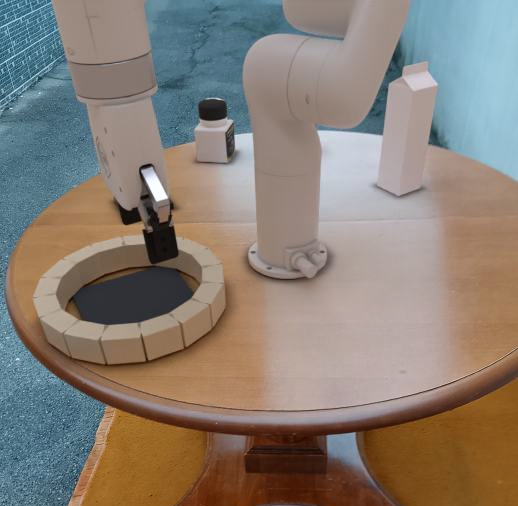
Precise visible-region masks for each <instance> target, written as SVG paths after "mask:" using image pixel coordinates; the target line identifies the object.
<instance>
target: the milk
mask: <svg viewBox="0 0 518 506" xmlns="http://www.w3.org/2000/svg"><path fill="white" fill-rule="evenodd" d="M428 70H429V61H423V62H418V63H414V64H409V65H405V66H403V68H402V72H401V73H402V74H401V76H400V77H398V78H396V79H395V80H393V81H391V82H389V83H388V88H387V97H386V105H385V115H384V123H383V131H382V132H383V133H382V140H381V141H382V142H381V149H380V157H379V165H378V166H379V167H378V174H377V184H376V185H377V187H379V188H380V189H382V190H385V191H387V192H389V193H390V194H393V195H395V196H397V197H400V196H403V195H405V194H408V193H409V194H410V193H411V192H414V191H417V190H420V189H421V187H422V182H423V176H424V170H425V165H426V160H427V159H426V158H427V153H428V147H429V141H430V135H431V129H432V122H433V118H434V111H435V105H436V101H437V93H438V87H439V83H438V82H437V81H436V80H435V78H434V77H433V76H432V75H431V73H430V71H428Z"/></svg>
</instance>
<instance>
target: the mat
mask: <svg viewBox="0 0 518 506" xmlns="http://www.w3.org/2000/svg"><path fill="white" fill-rule="evenodd" d="M194 294H195V292H194V291H193V289H192V288H190V286H189V285H188V283H187V282H186V280H185V279H184V278H183V277H182V276H181V274H180V272H178V269H175V268H168V267H161V266H152V267H148V268H146V269H141V270H140V271H136V272H133V273H128V274H124V275H122V276H118V277H115V278H111V279H108V280H105V281H101V282H97V283H94V284H90V285H86V286H82V287H81V288H80V289H79V290H78V291H77V292H76V293H75V294H74V295H73V296H72V299H73V301H74V303H75V306H76V308H77V311H78V312H79V314H80V316H81V319H82V321H86V322H92V323H97V324H103V325H117V324H130V323H140V322H143V321H146V320H149V319H152V318H156V317H159V316H162V315H165V314H168V313H170V312H171V311H173V310H174V309H176V308H178V307H179V306H181V305H182V304H184V303H185V302H187V301H188V300H190V299H191V298H192V297H193V295H194Z"/></svg>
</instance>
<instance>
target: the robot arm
mask: <svg viewBox="0 0 518 506" xmlns="http://www.w3.org/2000/svg"><path fill="white" fill-rule="evenodd" d="M50 1H51V5H52V10H53V13H54V17H55V21H56V24H57V29H58V32H59V36H60V39H61V43H62V47H63V50H64V55H65V58H66V62H67V66H68V69H69V70H68V71H69V74H70V77H71V81H72V84H73V88H74V92H75V96H76V99H77V101H78V102H80V103H82V104H85V105H86V111H87V112H86V113H87V116H88V123H89V126H90V131H91V135H92V140H93V144H94V149H95V154H96V158H97V162H98V168H99V172H100V176H101V179H102V182H103V183H104V185H105V187H106V188H107V189H108V191H109V192H110V194H111V195H112V196H113V198H114V197H115V199H116V200H117V203H118V206H117V207H118V212H119V215H120V219H121V223H122V225H124V226H130V225H133V224H136V223H141V222H142V224H143V226H144V228H143V229H142V230H141V231H142V232H141V233H142V235H143V236H144V241H145V245H146V250H147V254H148V258H149V261H150V263H151V264H157V263H160V262H164V261H167V260H170V259H173V258H176V257H178V255H179V251H178V246H177V240H176V237H177V235H176V231H175V222H174V219H173V214H172V213H173V212H172V209H171V210H170V202H169V199H170V195H171V189H170V180H169V174H168V169H167V163H166V158H165V153H164V146H163V143H162V139H161V134H160V131H159V125H158V119H157V117H156V112H155V109H154V106H153V100H152V96H153V95H154V94H156V93H157V92H158V90H159V85H158V78H157V74H156V73H157V72H156V68H155V61H154V55H153V49H152V43H151V38H150V31H149V25H148V20H147V15H146V14H147V13H146V8H145V4H146V2H147V1H148V0H50ZM411 2H412V0H282V13H283V15H284V16H285V20H286V21H287V23H288V24H289V25H290V26H291V27H292V28H294V29H295V30H298V31H300V32H303V33H307V34H311V35H316V36H311V35H303V34H294V33H274V34H268V35H266V36H263V37H261V38H260V39H257V41H255V42H254V43H253V44H252V45H251V47H250V48H249V50H248V51H247V53H246V55H245V57H244V61H243V65H242V88H243V93H244V97H245V103H246V106H247V110H248V114H249V119H250V126H251V132H252V134H251V135H252V145H253V169H254V171H253V172H254V195H255V219H256V221H255V222H256V241H255V242H254V243H253V244H252V245H251V246H250V247H249V249H248V252H247V258H248V263H249V265H250V266H251V268H252V269H254V271H256V272H258V273H259V274H261V275H263V276H267V277H269V278H270V277H271V278H274V279H282V280H283V279H284V280H286V279H287V280H289V279H300V278H304V277H306V278H308V279H311V278H314V277H315V276H316V275H317V273H318V272H319V271H320V270H321V269H323V268H324V267H325V266H326V264H327V261H328V251H327V247H326V246H325V244H323V243H322V241H320V240H319V221H320V198H321V172H322V158H323V157H322V144H321V139H320V135H319V132H318V129H317V126H316V127H315V124H317V125H318V126H323V127H327V128H332V129H339V130H348V129H349V130H350V129H353V128H355V127H357V126H358V125H360V124H361V123H362V122H363V121H364V120H365V118H367V116H368V114H369V113H370V111H371V109H372V107H373V105H374V103H375V101H376V98H377V95H378V94H379V91H380V88H381V85H382V83H383V80H384V79H385V75H386V73H387V70H388V68H389V65H390V63H391V61H392V58H393V55H394V53H395V50H396V47H397V45H398V43H399V40H400V37H401V35H402V33H403V30H404V28H405V24H406V21H407V18H408V15H409V11H410V8H411ZM318 36H323V37H324V36H325V37H330V38H323V37H318ZM331 37H332V38H342V39H343V40H339V39H332V38H331ZM146 194H149V196H150V198H146V199H145V195H146ZM168 198H169V199H168ZM150 206H153V209H154V212H151V215H149V213H148V208H147V207H150Z"/></svg>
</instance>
